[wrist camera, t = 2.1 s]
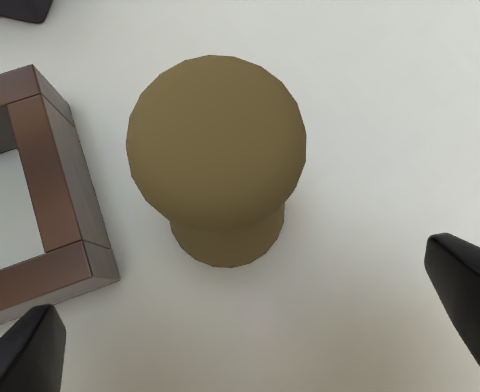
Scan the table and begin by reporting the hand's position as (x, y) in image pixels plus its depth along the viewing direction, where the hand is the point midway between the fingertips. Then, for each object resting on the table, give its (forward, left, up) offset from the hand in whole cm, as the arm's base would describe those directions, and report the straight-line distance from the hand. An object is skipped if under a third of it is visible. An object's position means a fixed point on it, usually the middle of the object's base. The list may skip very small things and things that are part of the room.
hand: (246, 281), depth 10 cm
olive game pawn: (+3, +2, -11) cm, 12 cm away
